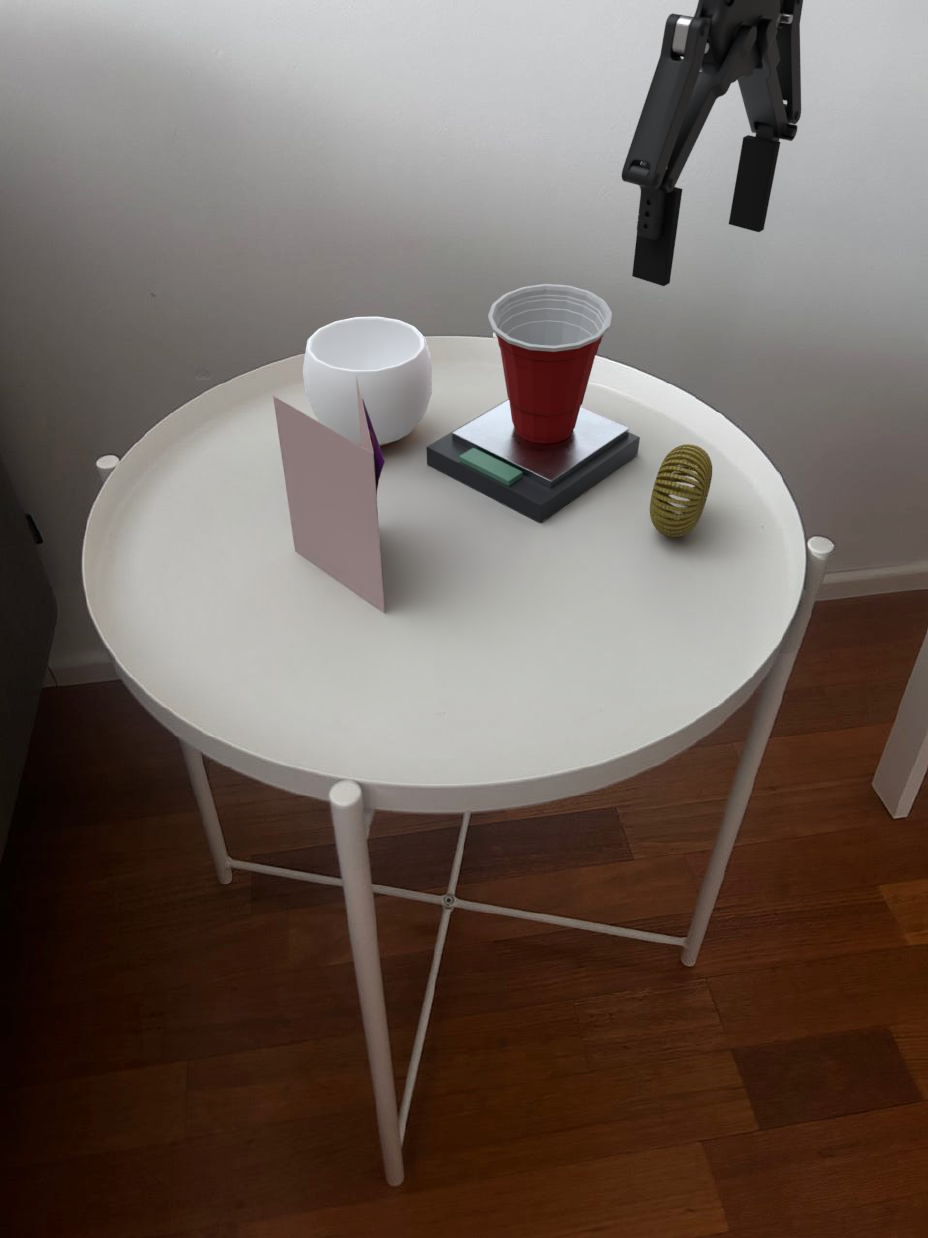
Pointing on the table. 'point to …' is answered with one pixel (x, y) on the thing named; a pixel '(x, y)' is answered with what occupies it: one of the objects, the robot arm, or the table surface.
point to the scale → (532, 460)
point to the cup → (368, 376)
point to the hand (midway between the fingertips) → (700, 252)
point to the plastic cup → (548, 355)
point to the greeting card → (334, 498)
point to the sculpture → (680, 490)
